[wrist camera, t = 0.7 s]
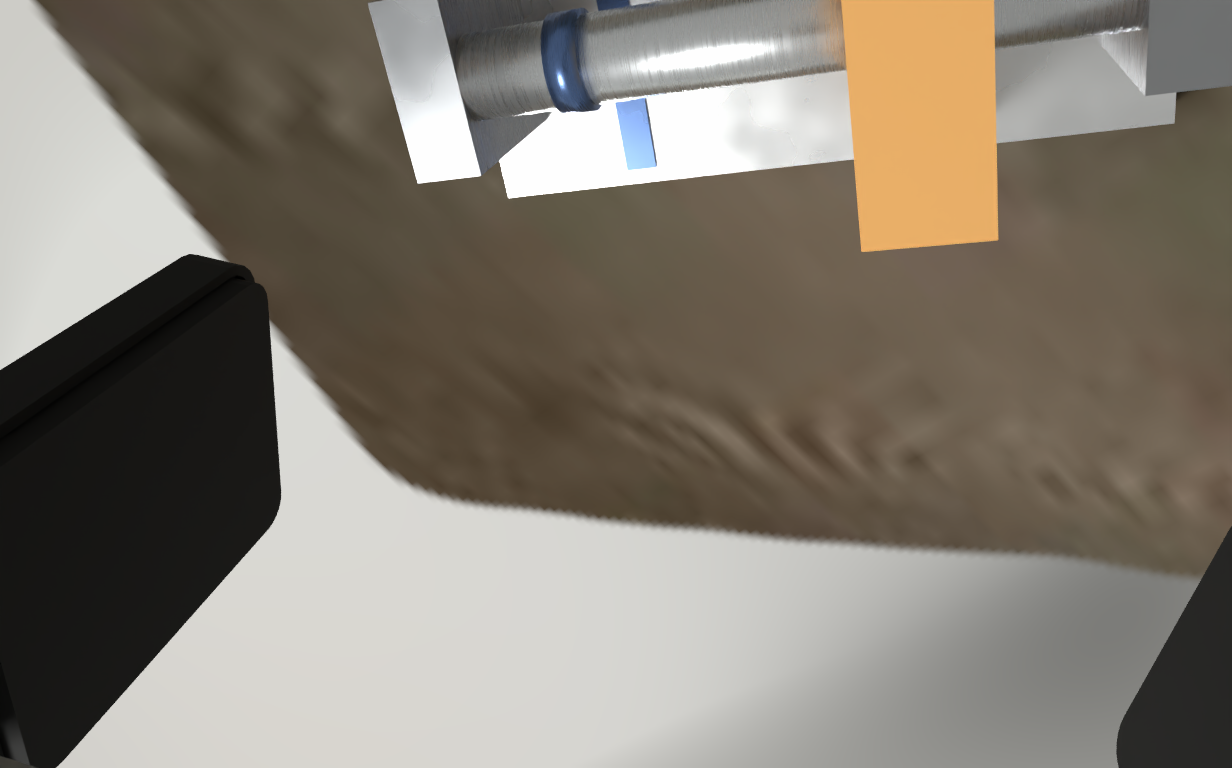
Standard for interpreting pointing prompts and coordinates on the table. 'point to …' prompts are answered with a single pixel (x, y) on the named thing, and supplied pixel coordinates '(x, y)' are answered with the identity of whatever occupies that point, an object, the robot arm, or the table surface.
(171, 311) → the robot arm
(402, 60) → the pipe stand
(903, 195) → the collar
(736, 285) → the table surface
